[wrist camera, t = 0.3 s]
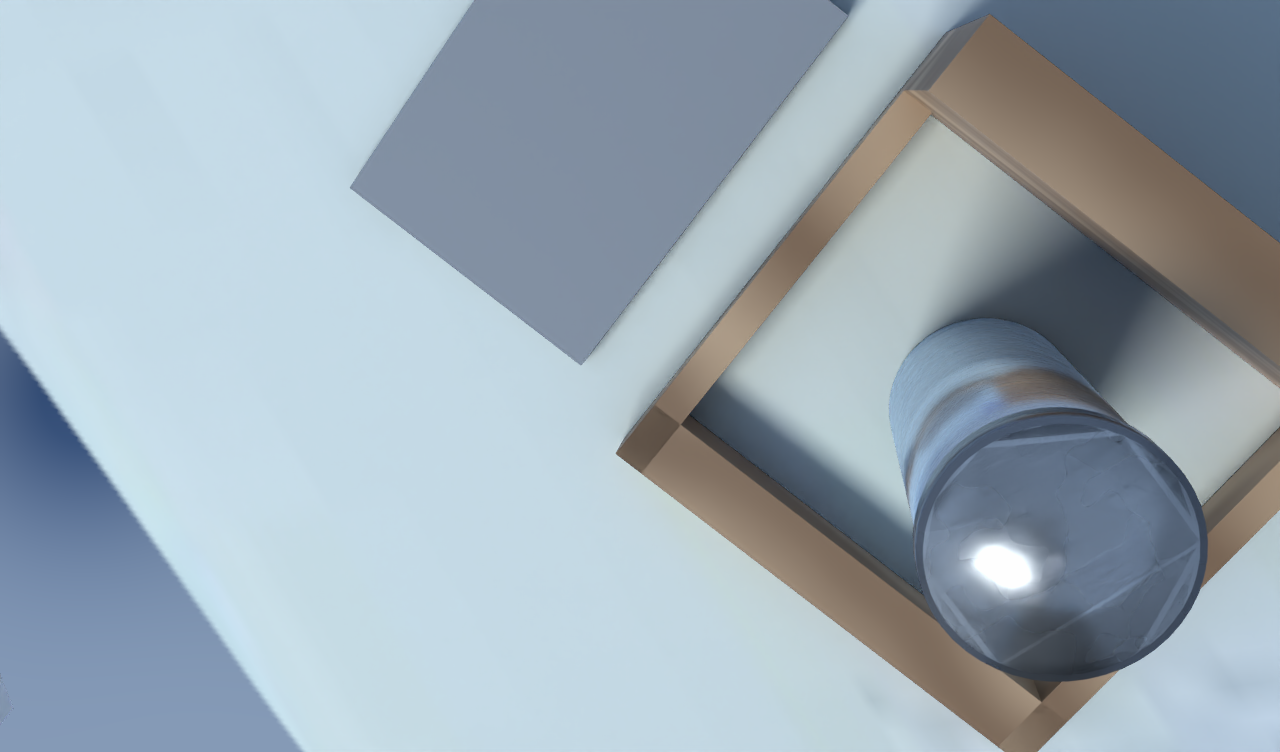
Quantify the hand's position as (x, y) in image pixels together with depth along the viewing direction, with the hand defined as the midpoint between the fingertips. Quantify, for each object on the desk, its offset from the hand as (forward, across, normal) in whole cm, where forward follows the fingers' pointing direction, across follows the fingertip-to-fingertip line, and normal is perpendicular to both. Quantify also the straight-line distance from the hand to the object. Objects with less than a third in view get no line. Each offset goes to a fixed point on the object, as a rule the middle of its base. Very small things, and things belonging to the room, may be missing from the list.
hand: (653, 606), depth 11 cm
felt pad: (+27, +4, +3) cm, 28 cm away
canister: (+25, -7, +12) cm, 28 cm away
